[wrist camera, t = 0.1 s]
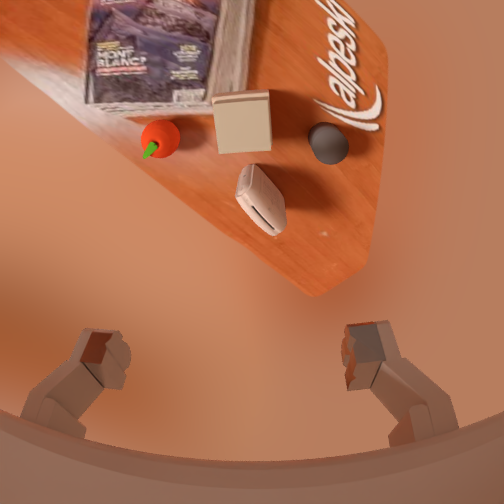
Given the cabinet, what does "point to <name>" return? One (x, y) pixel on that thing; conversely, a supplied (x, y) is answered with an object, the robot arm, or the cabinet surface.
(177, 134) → the clementine
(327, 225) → the cabinet surface
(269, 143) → the tower top block
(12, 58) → the cabinet surface
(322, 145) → the charcoal cylinder
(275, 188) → the photo printer
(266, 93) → the tower bottom block
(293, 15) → the cabinet surface
